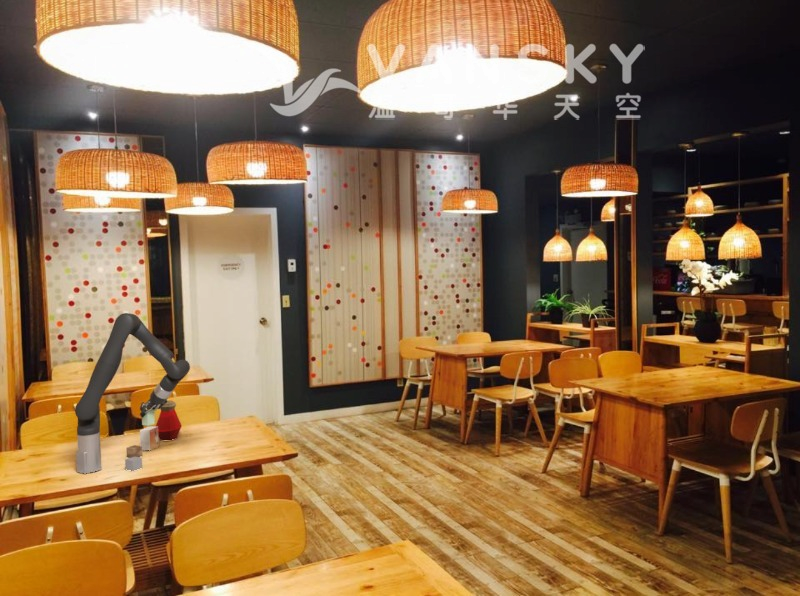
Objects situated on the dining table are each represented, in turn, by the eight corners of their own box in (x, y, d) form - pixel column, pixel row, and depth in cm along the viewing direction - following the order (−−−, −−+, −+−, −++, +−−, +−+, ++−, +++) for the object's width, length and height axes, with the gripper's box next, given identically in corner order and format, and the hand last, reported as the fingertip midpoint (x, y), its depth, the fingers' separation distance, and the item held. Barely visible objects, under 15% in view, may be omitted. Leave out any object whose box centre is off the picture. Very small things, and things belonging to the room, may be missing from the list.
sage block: (147, 425, 299) (147, 411, 299) (142, 424, 301) (141, 410, 301) (154, 423, 303) (154, 409, 303) (149, 423, 305) (148, 408, 304)
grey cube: (132, 471, 286) (132, 461, 286) (125, 470, 288) (125, 459, 288) (142, 468, 290) (141, 457, 290) (135, 467, 293) (134, 456, 293)
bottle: (162, 434, 348) (160, 398, 347) (186, 434, 348) (185, 398, 346) (149, 442, 332) (148, 405, 331) (175, 442, 332) (173, 404, 331)
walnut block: (133, 459, 305) (133, 448, 305) (126, 457, 308) (126, 447, 307) (142, 456, 310) (142, 446, 309) (135, 455, 312) (135, 444, 312)
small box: (150, 451, 318) (149, 430, 317) (140, 450, 319) (139, 430, 318) (159, 446, 326) (158, 426, 325) (149, 446, 327) (148, 425, 326)
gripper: (170, 383, 304) (153, 406, 310) (145, 388, 291) (128, 412, 298) (178, 395, 301) (161, 418, 308) (153, 401, 289) (136, 424, 296)
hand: (145, 414), depth 303 cm, fingers closed on sage block, 4 cm apart
